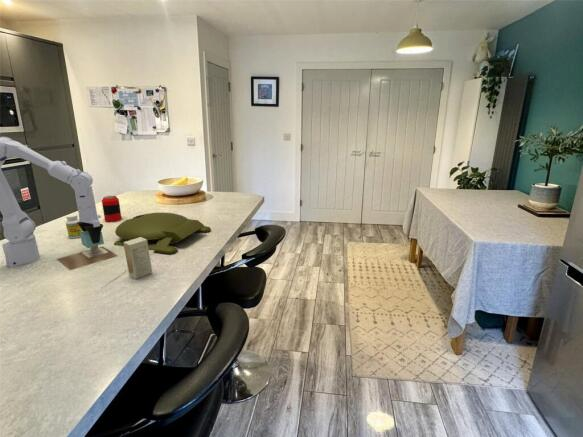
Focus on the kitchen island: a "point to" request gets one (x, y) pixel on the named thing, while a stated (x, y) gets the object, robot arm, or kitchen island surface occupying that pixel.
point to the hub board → (86, 257)
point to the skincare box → (137, 257)
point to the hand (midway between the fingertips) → (93, 240)
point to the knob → (89, 239)
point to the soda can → (111, 209)
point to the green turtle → (159, 230)
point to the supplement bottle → (73, 226)
